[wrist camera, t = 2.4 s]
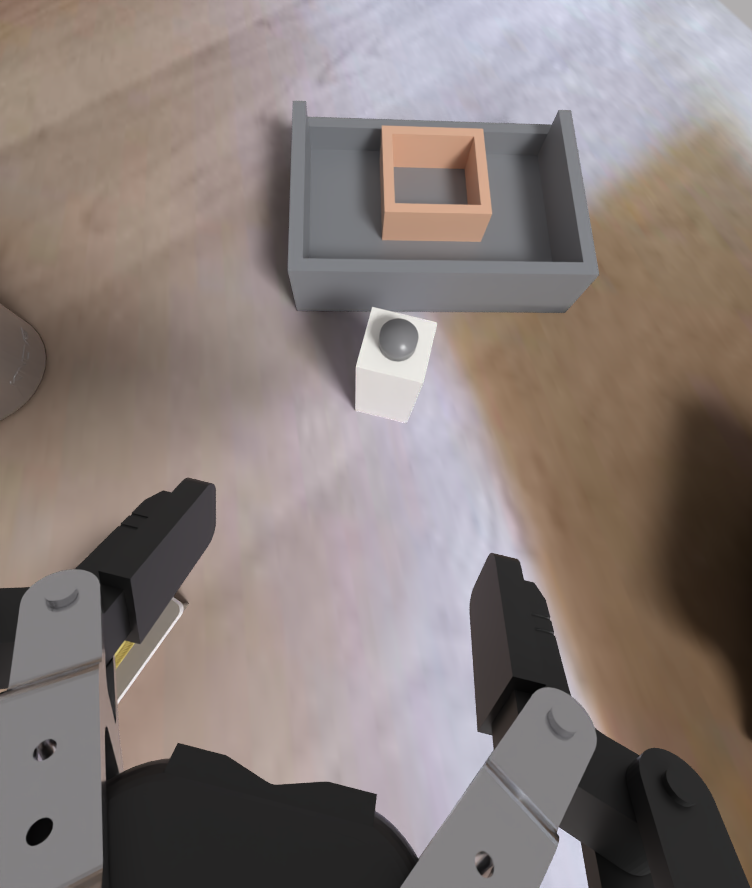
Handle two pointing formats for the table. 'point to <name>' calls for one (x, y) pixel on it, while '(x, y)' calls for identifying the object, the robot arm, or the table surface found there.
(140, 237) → the table surface
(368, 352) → the plug
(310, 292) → the walled box
